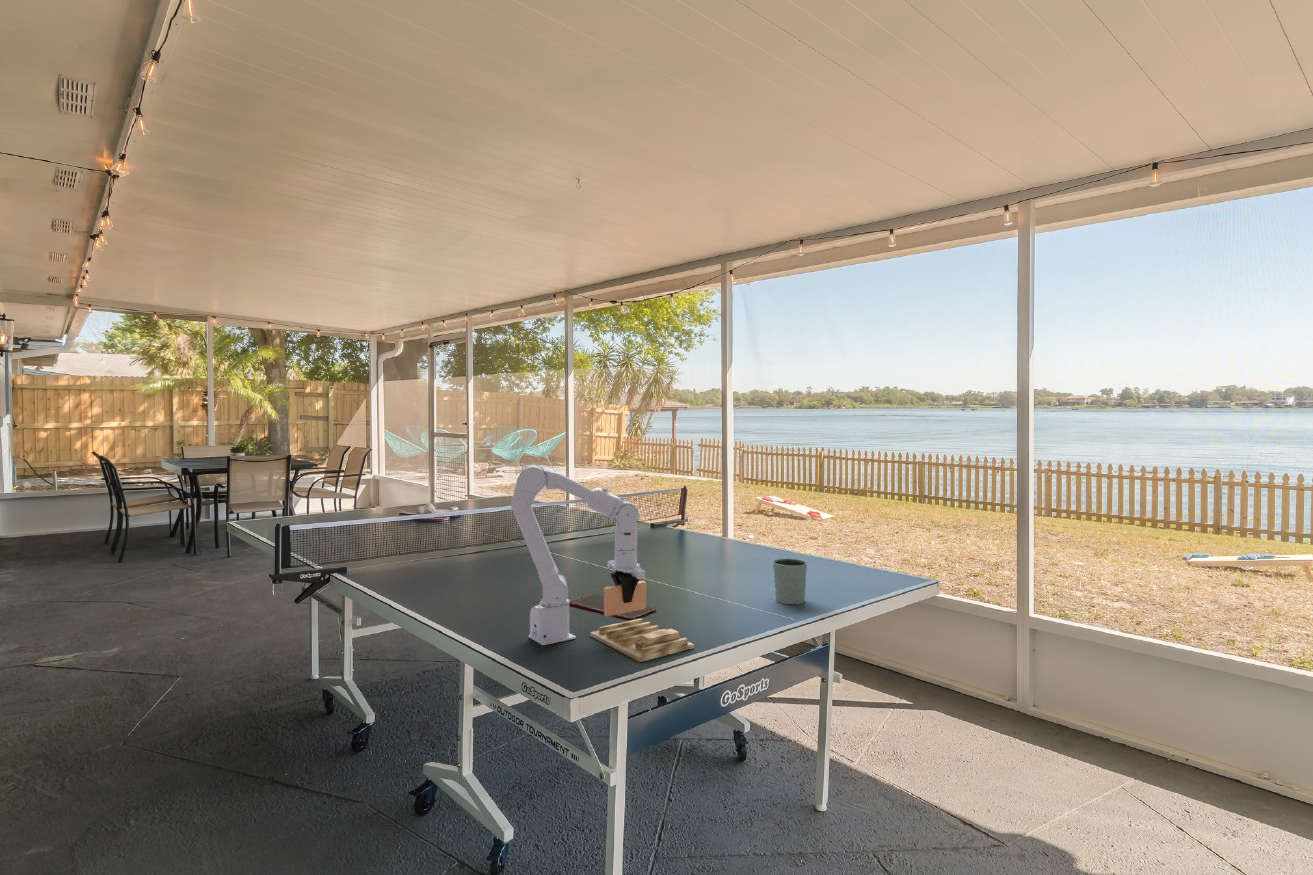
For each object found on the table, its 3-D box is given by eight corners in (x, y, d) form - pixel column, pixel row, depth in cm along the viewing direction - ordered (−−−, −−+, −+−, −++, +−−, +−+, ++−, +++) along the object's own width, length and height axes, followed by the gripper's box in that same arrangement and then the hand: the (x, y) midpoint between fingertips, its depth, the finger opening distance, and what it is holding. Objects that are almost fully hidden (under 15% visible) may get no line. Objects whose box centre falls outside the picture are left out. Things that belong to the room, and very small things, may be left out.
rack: (639, 661, 156) (639, 651, 156) (590, 636, 174) (590, 626, 174) (693, 648, 166) (693, 638, 165) (641, 624, 183) (641, 615, 183)
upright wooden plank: (607, 616, 171) (607, 588, 171) (603, 614, 172) (604, 587, 172) (646, 608, 178) (646, 581, 178) (642, 607, 179) (643, 580, 179)
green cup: (806, 606, 203) (807, 566, 202) (771, 604, 205) (772, 564, 204) (805, 597, 213) (806, 559, 212) (773, 595, 215) (773, 557, 214)
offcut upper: (648, 645, 160) (648, 638, 160) (641, 641, 163) (641, 635, 162) (678, 637, 165) (678, 631, 165) (671, 634, 168) (671, 628, 168)
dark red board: (632, 618, 187) (566, 601, 202) (631, 624, 187) (566, 606, 202) (658, 608, 196) (594, 592, 211) (658, 613, 196) (594, 597, 211)
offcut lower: (643, 652, 159) (643, 646, 159) (635, 648, 162) (635, 642, 162) (680, 643, 166) (680, 637, 166) (672, 639, 168) (672, 633, 168)
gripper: (655, 551, 171) (654, 605, 172) (623, 542, 183) (622, 592, 183) (632, 554, 167) (631, 609, 167) (600, 545, 179) (600, 596, 179)
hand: (625, 601), depth 175 cm, fingers closed on upright wooden plank, 1 cm apart
